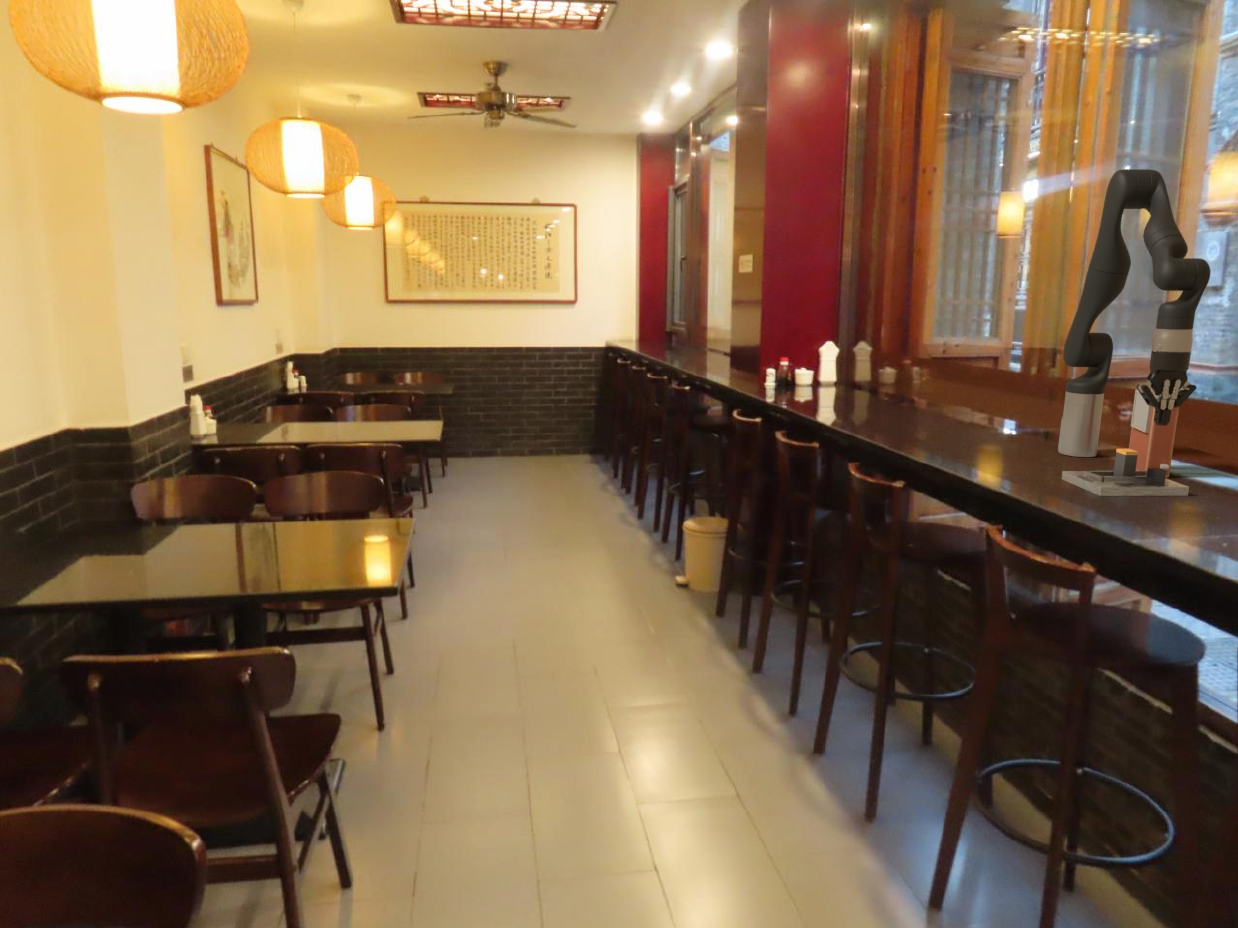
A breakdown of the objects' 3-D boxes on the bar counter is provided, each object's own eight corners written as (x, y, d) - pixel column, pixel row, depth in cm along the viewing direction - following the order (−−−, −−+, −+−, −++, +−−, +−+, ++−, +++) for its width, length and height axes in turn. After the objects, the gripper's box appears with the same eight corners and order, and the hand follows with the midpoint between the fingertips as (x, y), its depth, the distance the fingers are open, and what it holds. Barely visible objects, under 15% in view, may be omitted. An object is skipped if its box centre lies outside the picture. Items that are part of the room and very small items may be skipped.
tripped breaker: (1113, 474, 198) (1116, 448, 197) (1125, 474, 198) (1128, 448, 197) (1122, 478, 195) (1126, 451, 194) (1134, 478, 195) (1138, 451, 194)
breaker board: (1061, 479, 205) (1064, 456, 204) (1143, 478, 205) (1146, 455, 204) (1099, 495, 189) (1103, 471, 188) (1187, 495, 190) (1191, 470, 188)
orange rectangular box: (1150, 465, 220) (1174, 478, 205) (1120, 464, 221) (1143, 477, 207) (1161, 383, 215) (1187, 391, 201) (1131, 382, 216) (1155, 390, 202)
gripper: (1188, 348, 194) (1178, 422, 198) (1132, 348, 194) (1122, 422, 198) (1212, 350, 187) (1200, 427, 191) (1153, 350, 187) (1143, 428, 190)
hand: (1161, 425), depth 194 cm, fingers closed
